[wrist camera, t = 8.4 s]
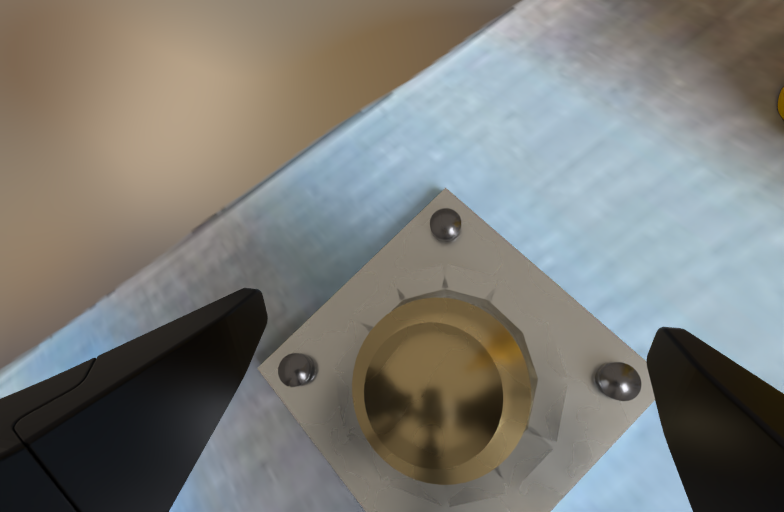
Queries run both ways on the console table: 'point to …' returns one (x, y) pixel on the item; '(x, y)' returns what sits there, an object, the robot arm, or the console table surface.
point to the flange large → (525, 324)
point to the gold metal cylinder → (441, 391)
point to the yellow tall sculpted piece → (781, 103)
